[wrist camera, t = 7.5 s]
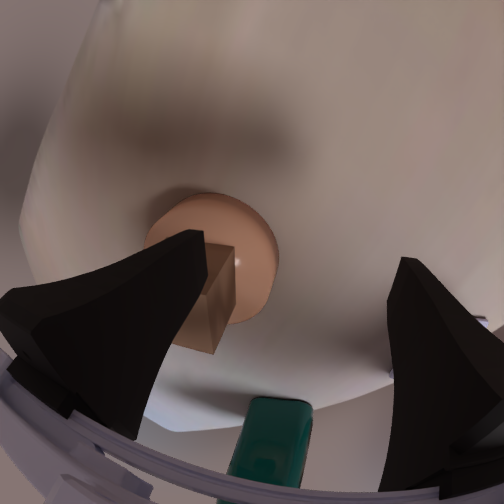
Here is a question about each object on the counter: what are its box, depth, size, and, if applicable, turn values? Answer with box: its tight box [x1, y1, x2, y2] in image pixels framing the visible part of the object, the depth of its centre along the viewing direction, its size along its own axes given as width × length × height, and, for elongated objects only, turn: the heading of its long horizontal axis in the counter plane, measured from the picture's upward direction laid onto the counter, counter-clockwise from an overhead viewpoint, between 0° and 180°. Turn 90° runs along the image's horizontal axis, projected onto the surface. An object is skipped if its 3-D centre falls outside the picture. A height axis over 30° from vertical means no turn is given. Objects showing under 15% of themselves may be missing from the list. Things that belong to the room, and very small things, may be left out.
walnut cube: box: [164, 237, 236, 355], centre depth 18 cm, size 5×5×5 cm
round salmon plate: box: [144, 193, 279, 324], centre depth 22 cm, size 10×10×4 cm
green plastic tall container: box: [216, 397, 313, 504], centre depth 26 cm, size 10×8×22 cm
